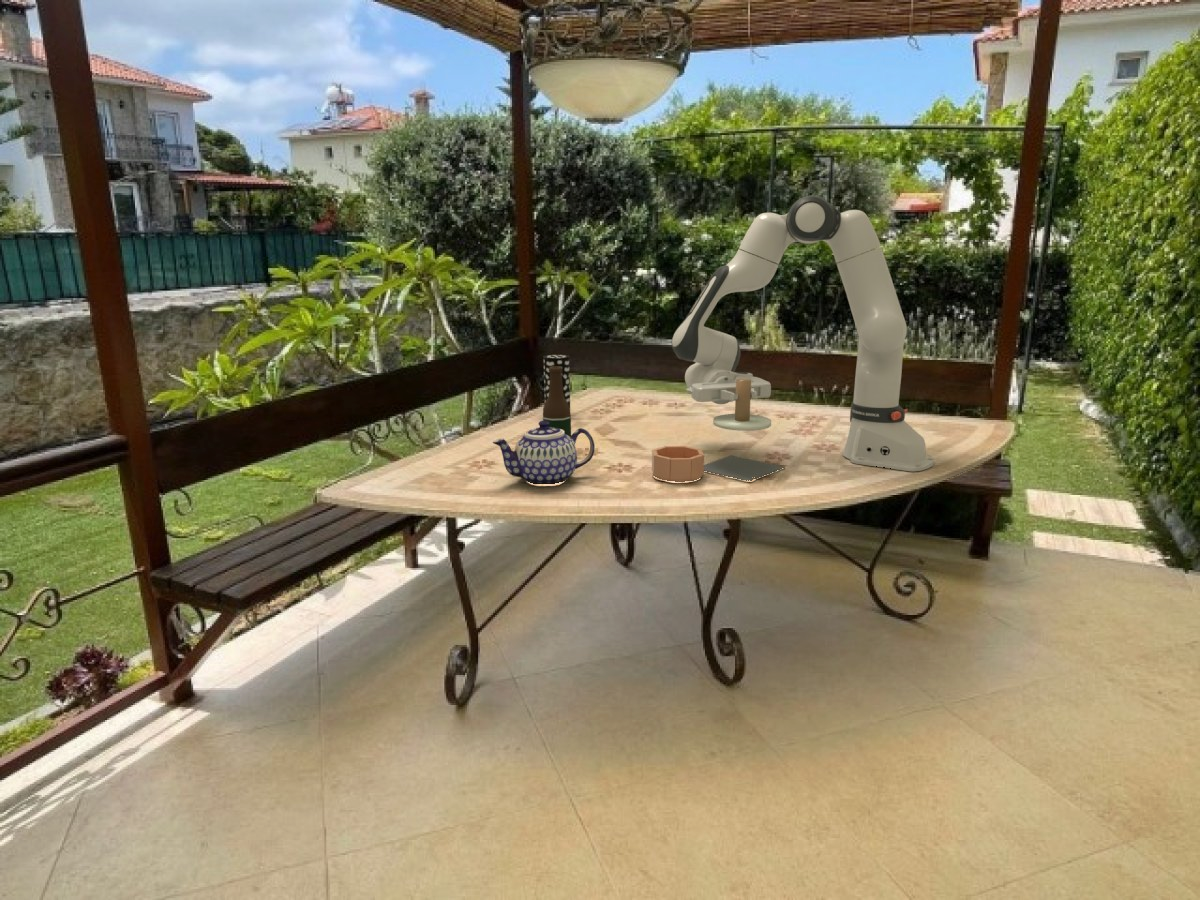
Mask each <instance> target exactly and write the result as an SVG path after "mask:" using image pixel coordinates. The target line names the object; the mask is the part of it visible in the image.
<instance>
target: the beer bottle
mask: <svg viewBox="0 0 1200 900" xmlns="http://www.w3.org/2000/svg"><path fill="white" fill-rule="evenodd" d="M562 371H563V370H562V367H560V366H552V367H550V368H549V372H550V386H549V397H548V399H547V400H546V402H545V401H544V404H543V407H542V421H543V420H545V421H548V422H549V426H548V427H551V428H558V429H562V430H564V433H565V434H566V435H568V436H571V435H572V418H571V417H572V416H571V407H570V408H569V405H568V402H567V401H566V399H565V398H564V394H563V385H562Z"/></svg>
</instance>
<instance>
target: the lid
mask: <svg viewBox="0 0 1200 900" xmlns="http://www.w3.org/2000/svg"><path fill="white" fill-rule="evenodd" d="M736 393H738V400H735V405H734V413H726V414H721V415H717V416H715V417H713V419H712V420H713V422H712V423H713V426H715V427H717V428H720V429H724V430H729V431H730V430H731V431H737V432H738V431H739V432H740V431H741V432H745V431H747V432H749V431H750V432H751V431H754V432H755V431H761V430H766V429H768V428H771V426H772V419H771V418H769V417H766V416H764V415H759V414H752V413H751V400H752V399H751V379H746V378H740V379H736Z"/></svg>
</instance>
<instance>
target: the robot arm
mask: <svg viewBox="0 0 1200 900" xmlns="http://www.w3.org/2000/svg"><path fill="white" fill-rule="evenodd" d="M820 241H822V242H824V243H826V244H827V245H828V246H829V248H830V250H831V251H832V254H833V257H834V261H835V264H836V266H837V270H838V272H839V275H840V279H841V281H842V282H841V283H842V284H843V285H842V286H843V287H844V291H845V294H846V298H847V301H848V304H849V307H850V311H851V314H852V317H853V321H854V324H855V329H856V331H857V334H858V344H857V345H858V347H857V357H856V366H855V367H856V368H855V378H854V389H853V401H852V402H851V404H850V412H849V423H850V425H849V430H848V435H847V439H846V443H845V445H844V448H843V451H842V456H843V457H844V458H847V459H848V460H850V462H851V463H852V464H856V465H861V466H862V465H863V466H871V467H876V466H877V468H883V467H885V468H884V469H890V468H891V470H896V471H904V472H920V471H924V470H928V469H929V468H931V467H933V466H934V465H935V458H934V457H933V456H930V455H927V446H926V441H925V438H924V437H923V436H922V435H921V434H919V432H917V431H916V429H914V428H913V427H912V426H911V425H909V423H908V422H907V421H905V417H906V414H907V413H908V408H905V409H904V408H903V407H902V406H900V404H899V402H900V391H901V383H902V382H901V381H902V375H903V374H902V370H903V356H904V345H905V339H906V338H907V337H906V336H907V333H908V332H907V331H908V329H907V323H906V322H907V321H906V320H905V317H904V314H903V311H902V307H901V304H900V301H899V298H898V295H897V292H896V289H895V286H894V282H893V279H892V275H891V273H890V270H889V267H888V264H887V260H886V257H885V255H884V251H883V248H882V245H881V243H880V239H879V237H878V235H877V231H876V230H875V228H874V226H873V224H872V222H871V220H870V219H869V217H868V215H867V214H866V213H865V212H864V211H862V210H859V209H849V210H845V211H843V212H840V210H838V208H836V207H835V206H833V205H832V204H831V203H830V202H829V201H828V200H826V199H825V198H823V197H821V196H818V195H806V196H803V197H801V198H799V199H797V200H796V201H795V202H794V203H793V204H792V205H791V207H790V208H789V211H788V212H787V213H786V214H782V215H781V214H778V213H776V212H775V213H774V212H762V213H760V214H758V215H757V216H756V217H755V218H754V220H753V222H752V223H751V224H750V226H749V228H748V229H747V231H746V233H745V235H744V237H743V238H742V240H741V243H740V245H739V247H738V250H737V252H736V253H735V254H734V257H732V259H731V260H730V261H729V262H728V263H727V264H725V265H721V266H719V267H718V268H716V270H715V271H714V272H713V273H712V275H711V277H710V278H709V280H708V281H707V282H706V284H705V286H704V287H703V289H702V290H701V292H700V294H699V296H698V297H697V299H696V300H695V302H694V304H693V305H692V307H691V309H689V312H688V314H687V315H686V317H685V318H684V319H683V320H682V322H681V323H680V324H679V325H678V327H676V330H675V331H674V333H673V336H672V338H671V347H672V350H673V352H674V353H675V356H676V357H677V358H678V359H679V360H682V361H683V360H684V361H687V362H694V363H693V364H691V365H689V367H687V369H686V371H685V374H684V381H685V384H686V386H687V388H685V392H686V393H688V394H691V398H692V400H694V401H696V402H699V403H709V402H712V403H714V404H717V405H726V404H728V403H730V402H734V401H735V400H738V393H736V379H740V378H746V379H751V400H756V399H762V398H764V399H765V398H770V397H771V393H772V386H771V383H770V381H767V380H765V379H763V378H760V377H758V376H754V375H753V373H750V372H741V371H740V372H738V371H736V369H737V367H738V365H739V363H740V359H741V346H740V342H739V341H738V339H737V338H736V337H735V336H734V335H730V334H728V333H726V332H722V331H719V330H715V329H714V328H713V329H712V328H710V327H708V326H707V327H706V326H705V323H706V321H708V319H709V316H710V315H711V313H713V310H714V309H715V307H716V306H717V303H718V302H719V301H720V300H721V299H722V298H723V297H725V296H726V295H729V294H731V293H745V292H753V291H757V290H760V289H762V288H764V287H766V286H767V285H768V284H769V283H770V282H771V280H772V279H773V278H774V276H775V274H776V272H777V269H778V267H779V264H780V263H781V261H782V258H783V255H784V253H785V252H786V250H787V249H788V247H789V246H790V245H791V244H798V245H801V244H802V245H813V244H816V243H818V242H820Z"/></svg>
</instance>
